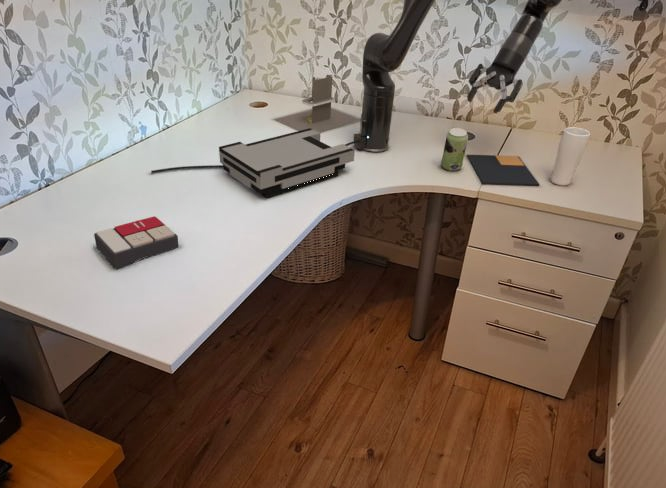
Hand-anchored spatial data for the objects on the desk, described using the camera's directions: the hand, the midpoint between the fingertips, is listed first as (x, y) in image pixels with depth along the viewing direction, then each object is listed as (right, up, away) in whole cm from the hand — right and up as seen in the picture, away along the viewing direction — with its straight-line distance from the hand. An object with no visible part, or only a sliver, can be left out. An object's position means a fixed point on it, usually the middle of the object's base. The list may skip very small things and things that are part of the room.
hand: (481, 106), depth 154 cm
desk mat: (+7, -18, +3) cm, 20 cm away
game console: (-57, -20, -2) cm, 60 cm away
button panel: (-89, -44, -35) cm, 106 cm away
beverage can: (-8, -17, +4) cm, 20 cm away
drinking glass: (+22, -23, -2) cm, 32 cm away
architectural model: (-47, +7, +35) cm, 59 cm away
